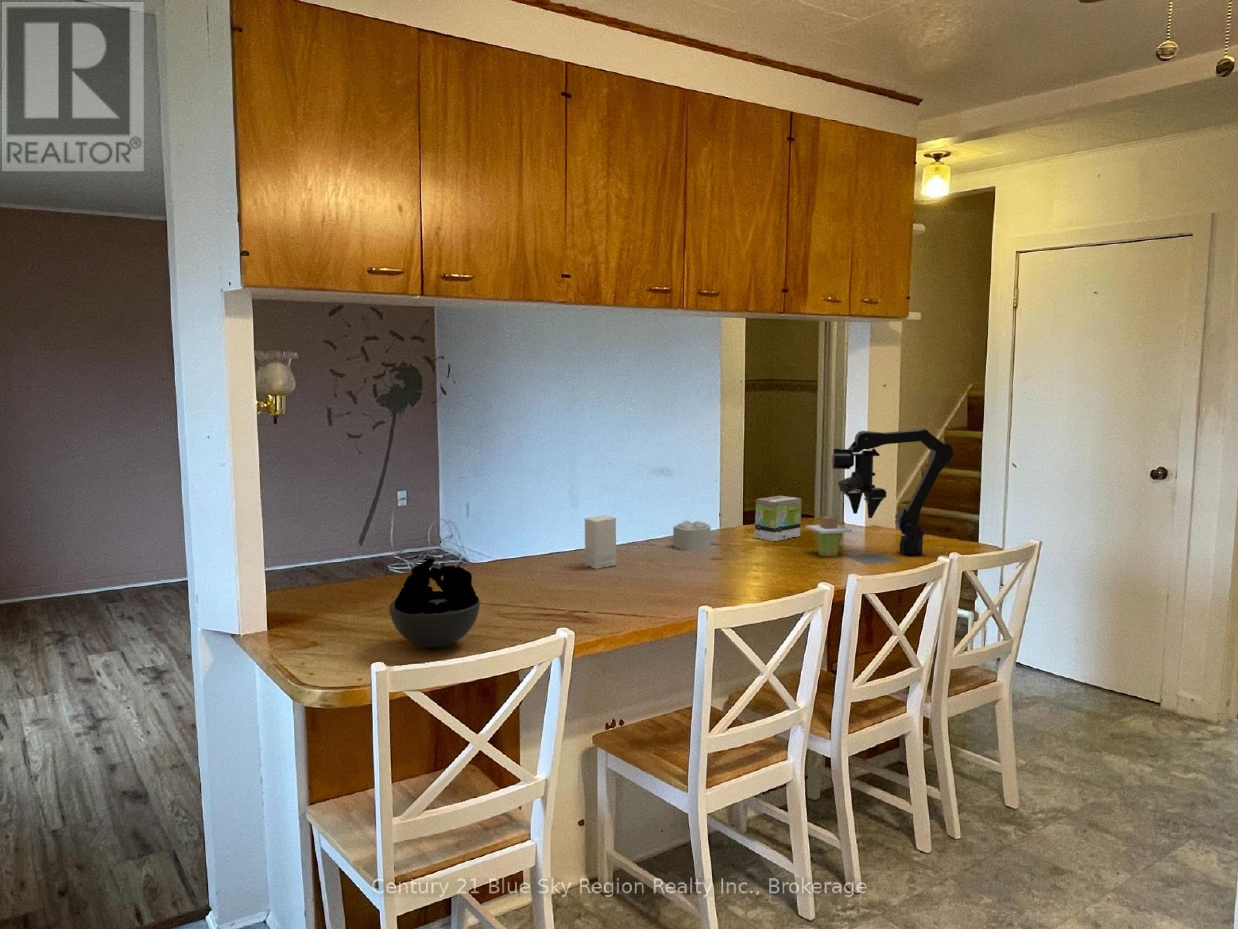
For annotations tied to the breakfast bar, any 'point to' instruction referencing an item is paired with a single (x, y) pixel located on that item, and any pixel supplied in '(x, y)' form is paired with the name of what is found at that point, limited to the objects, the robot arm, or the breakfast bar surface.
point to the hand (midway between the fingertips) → (862, 515)
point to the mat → (873, 558)
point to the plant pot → (828, 543)
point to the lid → (828, 526)
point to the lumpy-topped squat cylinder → (691, 535)
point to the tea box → (777, 518)
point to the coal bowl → (435, 606)
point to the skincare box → (600, 541)
